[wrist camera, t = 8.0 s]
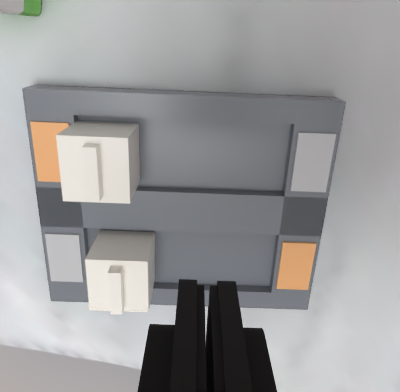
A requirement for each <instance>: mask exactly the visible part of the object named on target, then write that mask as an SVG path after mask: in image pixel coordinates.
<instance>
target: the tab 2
mask: <svg viewBox="0 0 400 392" xmlns="http://www.w3.org/2000/svg"><path fill="white" fill-rule="evenodd" d="M85 266H86V278H87V289H88V300H89V310H101V311H110V314H123V311H131V312H149V307H150V301H151V296H152V291H153V286H154V280H155V232H140V231H112V230H100V231H99V233H98V235H97V237H96V239H95V241H94V243H93V245H92V247H91V249H90V251H89V252H88V254H87V256H86V258H85Z"/></svg>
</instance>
